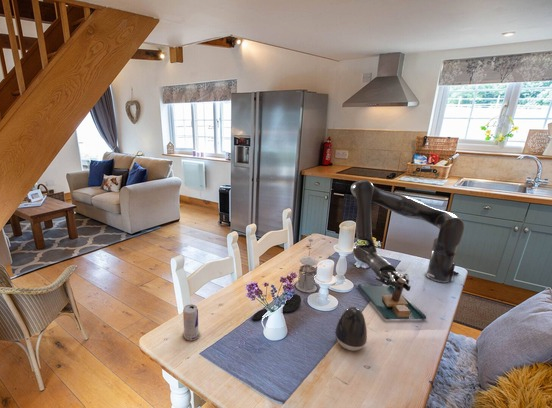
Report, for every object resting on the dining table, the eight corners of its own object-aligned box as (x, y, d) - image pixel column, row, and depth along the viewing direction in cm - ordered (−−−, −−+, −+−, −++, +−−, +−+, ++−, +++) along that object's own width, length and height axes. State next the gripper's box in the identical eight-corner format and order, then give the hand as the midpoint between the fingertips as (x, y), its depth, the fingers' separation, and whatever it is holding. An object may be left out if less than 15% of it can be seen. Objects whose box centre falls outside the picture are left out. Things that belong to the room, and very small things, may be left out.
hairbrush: (247, 308, 126) (292, 288, 137) (247, 316, 127) (291, 295, 138) (259, 320, 119) (306, 298, 130) (259, 328, 120) (305, 305, 132)
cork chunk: (391, 310, 127) (392, 304, 126) (402, 310, 127) (403, 304, 126) (398, 317, 122) (399, 310, 122) (409, 317, 122) (410, 310, 122)
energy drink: (200, 332, 116) (200, 305, 113) (195, 342, 111) (194, 314, 108) (187, 329, 118) (186, 302, 114) (181, 339, 113) (180, 311, 110)
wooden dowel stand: (380, 300, 132) (388, 276, 126) (399, 300, 132) (407, 276, 126) (386, 309, 127) (395, 284, 121) (406, 309, 127) (415, 284, 121)
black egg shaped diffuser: (328, 343, 111) (332, 307, 106) (343, 331, 117) (348, 296, 112) (355, 360, 103) (361, 322, 99) (370, 346, 109) (376, 310, 105)
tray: (357, 288, 145) (358, 283, 144) (391, 288, 145) (392, 283, 144) (384, 321, 122) (385, 316, 121) (425, 321, 122) (426, 316, 121)
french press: (318, 284, 148) (323, 236, 141) (314, 296, 138) (319, 246, 131) (298, 279, 153) (302, 232, 146) (292, 291, 143) (296, 241, 136)
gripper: (367, 260, 137) (388, 280, 120) (398, 260, 137) (424, 280, 120) (365, 275, 139) (385, 297, 123) (396, 275, 139) (420, 297, 123)
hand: (404, 288), depth 122 cm, fingers closed on wooden dowel stand, 3 cm apart
